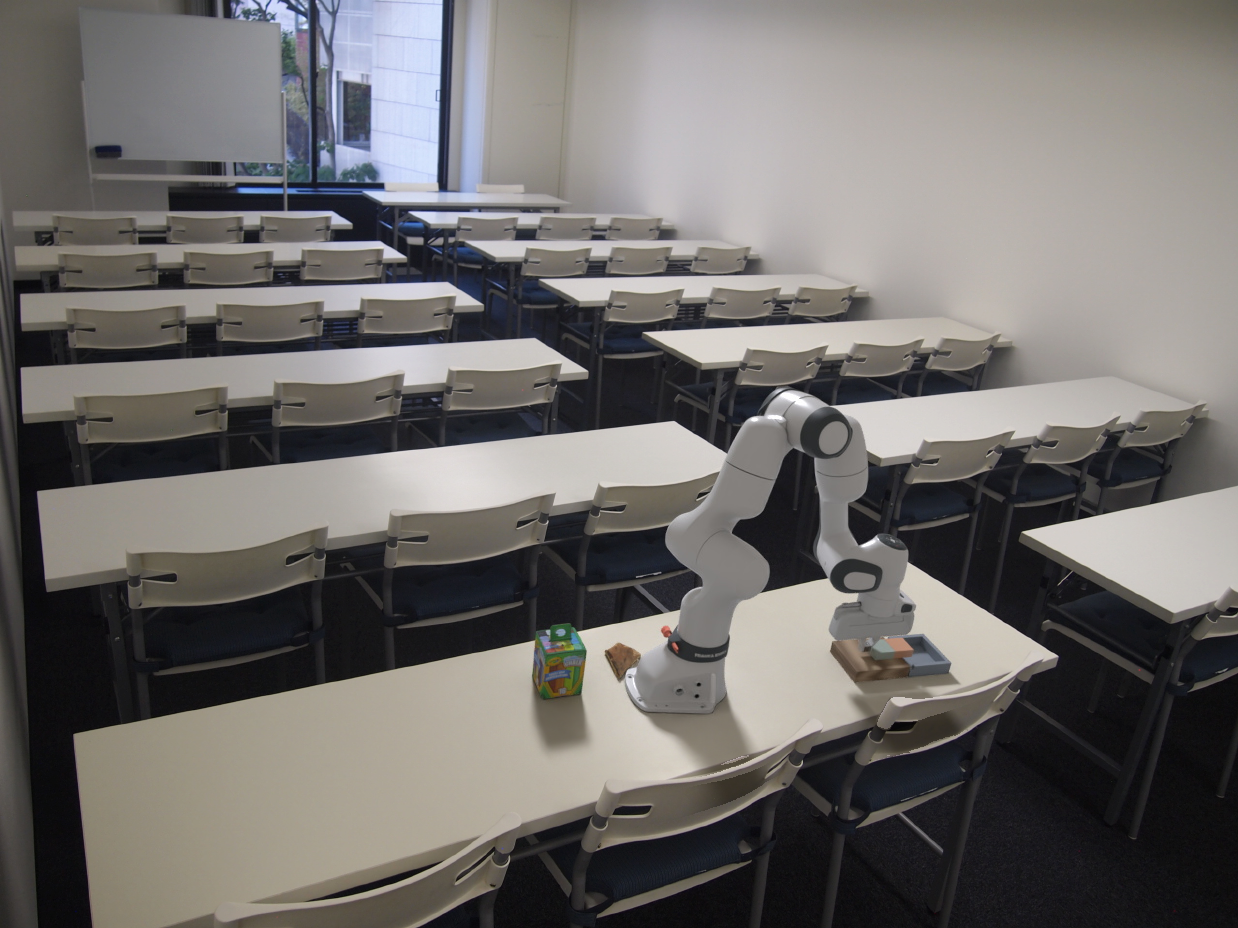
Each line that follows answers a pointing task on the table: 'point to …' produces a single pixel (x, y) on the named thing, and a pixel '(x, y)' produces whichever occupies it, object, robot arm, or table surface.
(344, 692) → the table surface
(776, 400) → the robot arm
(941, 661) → the tray
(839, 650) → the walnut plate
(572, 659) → the chalk box
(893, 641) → the terracotta tile
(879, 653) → the sage tile
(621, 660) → the shard
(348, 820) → the table surface
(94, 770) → the table surface
